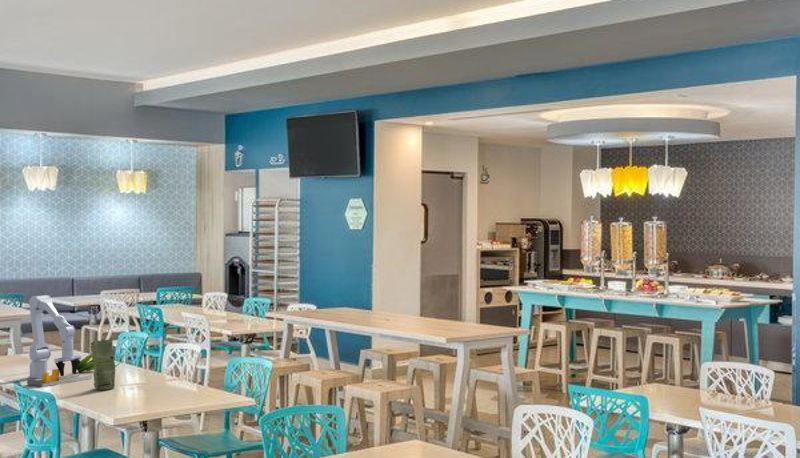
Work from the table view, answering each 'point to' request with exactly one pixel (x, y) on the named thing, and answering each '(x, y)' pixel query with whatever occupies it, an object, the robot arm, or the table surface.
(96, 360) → the pouch
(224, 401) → the table surface
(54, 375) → the pipe clamp
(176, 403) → the table surface
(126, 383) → the table surface
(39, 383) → the rail
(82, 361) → the decorative plant
